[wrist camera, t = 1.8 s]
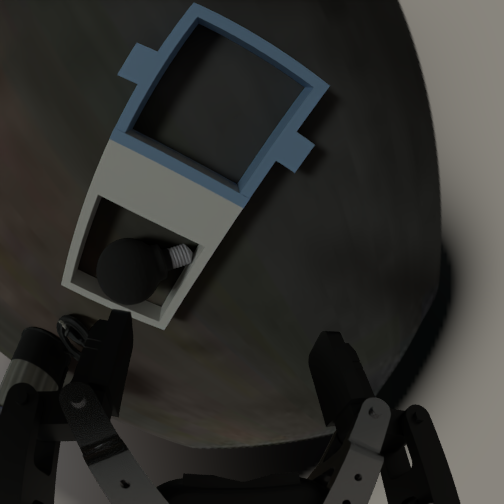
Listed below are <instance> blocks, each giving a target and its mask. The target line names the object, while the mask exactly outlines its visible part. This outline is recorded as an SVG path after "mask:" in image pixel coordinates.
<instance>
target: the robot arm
mask: <svg viewBox="0 0 504 504" xmlns="http://www.w3.org/2000/svg"><path fill="white" fill-rule="evenodd" d="M132 348H133V329H132V316H131V312H130V311H124V310H118V309H112V311H111V314H110V316H109V319H108V321H106V320H101V319H99V320H98V321H97V322H96V323H95V324H94V325H93V326H92V327H91V329H90V332H89V335H88V337H87V340H86V342H85V345H84V348H83V350H82V353H81V356H80V359H79V362H78V364H77V367H76V370H75V373H74V376H73V379H72V381H71V382H70V383H69V384H67V385H65V386H64V387H63V388H62V389H61V390H57V391H36V390H35V388H34V387H33V386H32V385H30V384H28V383H22V382H21V383H17V384H14V385H13V386H12V387H11V388H10V389H9V390H8V392H7V395H6V398H5V401H4V404H3V408H2V411H1V414H0V504H54V494H55V481H56V471H57V463H58V455H59V448H60V441H77V443H78V445H79V447H80V449H81V451H82V453H83V457H84V460H85V462H86V464H87V465H88V467H89V469H90V471H91V472H92V474H93V476H94V478H95V479H96V481H97V482H98V484H99V486H100V487H101V489H102V490H103V492H104V494H105V495H106V497H107V498H108V500H109V501H110V502H111V504H368V502H369V499H370V497H371V495H372V492H373V489H374V487H375V484H376V482H377V479H378V476H379V473H380V472H381V476H382V480H383V484H384V488H385V492H386V497H387V501H388V504H460V500H459V497H458V494H457V490H456V487H455V484H454V481H453V478H452V474H451V472H450V469H449V466H448V463H447V460H446V457H445V454H444V451H443V449H442V446H441V443H440V441H439V438H438V435H437V433H436V430H435V428H434V425H433V423H432V420H431V418H430V415H429V413H428V412H427V410H426V409H425V408H423V407H422V406H420V405H411V406H410V407H409V408H407V409H406V410H405V411H401V410H396V409H390V408H389V407H388V405H387V404H386V403H385V402H384V401H382V400H381V399H379V398H375V396H374V393H373V391H372V389H371V386H370V384H369V381H368V379H367V377H366V374H365V372H364V370H363V367H362V365H361V363H360V360H359V358H358V356H357V353H356V351H355V350H354V349H353V348H352V347H351V346H350V345H349V343H345V342H344V340H343V338H342V335H341V333H340V332H332V331H323V332H321V333H320V335H319V337H318V339H317V341H316V343H315V345H314V347H313V348H312V350H311V352H310V355H309V368H310V371H311V375H312V378H313V382H314V385H315V389H316V392H317V396H318V399H319V403H320V407H321V410H322V414H323V417H324V421H325V425H326V427H329V426H336V431H335V432H334V434H333V436H332V438H331V441H330V443H329V444H328V446H327V448H326V451H325V452H324V455H323V457H322V458H321V460H320V462H319V464H318V465H317V467H316V468H315V469H314V470H313V472H312V473H311V474H310V476H309V477H308V478H307V479H305V478H301V477H299V472H292V473H281V474H271V475H268V476H264V477H261V478H257V479H254V480H250V481H247V482H240V481H235V480H230V479H226V478H222V477H218V476H214V475H197V474H183V478H182V479H175V480H172V481H168V482H166V483H163V484H161V485H159V486H158V487H155V486H154V484H153V483H152V482H151V480H150V479H149V478H148V477H147V475H146V474H145V473H144V471H143V470H142V468H141V467H140V465H139V464H138V463H137V461H136V460H135V458H134V457H133V455H132V454H131V452H130V451H129V449H128V448H127V446H126V445H125V443H124V442H123V441H122V439H121V438H120V437H119V435H118V434H117V432H116V431H115V429H114V427H113V425H112V424H111V422H110V419H111V416H115V417H119V412H120V406H121V401H122V395H123V390H124V385H125V380H126V376H127V371H128V367H129V362H130V358H131V353H132ZM406 444H407V447H408V450H409V453H410V456H411V459H412V468H411V466H410V463H409V460H408V457H407V454H406V450H405V447H404V446H405V445H406Z"/></svg>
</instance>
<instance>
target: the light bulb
mask: <svg viewBox="0 0 504 504" xmlns="http://www.w3.org/2000/svg"><path fill="white" fill-rule="evenodd" d="M192 256H193V252H192V251H191V250H190V249H189V248H188V247H187V246H186V245H185V244H182V245H179V246H176V247H175V246H174V247H173V248H172V247H170V249H169V248H166V249H163V250H161V249H160V247H159V246H158V245H157V244H156V245H152V246H149V245H147V244H145V243H144V242H142V241H140V240H137V239H132V238H124V239H119V240H116V241H114V242H112V243H111V244H109V245H108V246H107V247H106V248H105V249H104V250H103V252H102V253H101V255H100V257H99V260H98V263H97V268H96V272H97V280H98V283H99V285H100V287H101V289H102V291H103V292H104V293H105V294H106V295H107V296H108V297H109V298H110V299H111V300H113V301H115V302H117V303H120V304H123V305H134V304H138V303H141V302H143V301H145V300H146V299H148V298H149V297H150V296H151V295H152V294H153V293H154V291H155V290H156V288H157V286H158V283H159V282H160V281H161V280H164V279H166V278H167V277H168V273H167V272H168V271H170V270H172V269H173V268H175V269H176V267H178V268H179V266H180V267H182V265H183V266H185V265H188V264H191V261H192Z"/></svg>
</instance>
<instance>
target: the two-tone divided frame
mask: <svg viewBox="0 0 504 504" xmlns="http://www.w3.org/2000/svg"><path fill="white" fill-rule="evenodd" d="M198 24H201V25H203V26H205V27H207V28H209V29H211V30H213V31H215V32H216V33H218V34H220V35H222V36H224V37H226V38H228V39H230V40H231V41H233V42H235V43H237V44H238V45H240V46H242V47H244V48H245V49H247V50H249V51H250V52H252V53H254V54H255V55H257V56H259V57H260V58H262V59H264V60H265V61H267V62H268V63H270V64H271V65H273V66H274V67H276V68H277V69H279V70H280V71H282V72H283V73H285V74H286V75H288V76H289V77H291V78H292V79H294V80H295V81H296V82H298V83H299V84H301V85H302V86H303V87H305V88H304V89H303V90H302V92H301V93H300V95H299V96H298V97H297V99H296V100H295V101H294V103H293V104H292V106H291V107H290V108H289V110H288V111H287V112H286V114H285V115H284V117H283V118H282V119H281V121H280V122H279V124H278V125H277V127H276V128H275V129H274V131H273V132H272V134H271V135H270V137H269V138H268V139H267V141H266V142H265V144H264V145H263V147H262V148H261V150H260V151H259V152H258V154H257V155H256V157H255V158H254V160H253V161H252V163H251V164H250V166H249V167H248V169H247V170H246V172H245V173H244V175H243V176H242V178H241V179H240V181H239V182H238V184H236V183H234V182H233V181H231V180H229V179H227V178H225V177H224V176H222V175H220V174H218V173H216V172H215V171H213V170H211V169H209V168H207V167H205V166H204V165H202V164H200V163H198V162H196V161H194V160H192V159H191V158H189V157H187V156H185V155H183V154H181V153H179V152H177V151H175V150H173V149H172V148H170V147H168V146H166V145H164V144H162V143H160V142H158V141H156V140H154V139H152V138H150V137H148V136H146V135H144V134H142V133H140V132H138V131H136V130H134V129H133V127H134V125H135V123H136V121H137V119H138V117H139V116H140V114H141V112H142V110H143V108H144V106H145V105H146V103H147V101H148V99H149V98H150V96H151V94H152V92H153V91H154V89H155V87H156V86H157V84H158V82H159V81H160V79H161V77H162V76H163V74H164V73H165V71H166V70H167V68H168V66H169V65H170V63H171V62H172V60H173V59H174V57H175V56H176V54H177V53H178V51H179V50H180V48H181V47H182V46H183V44H184V43H185V41H186V40H187V39H188V37H189V36H190V34H191V33H192V32H193V30H194V29H195V28H196V26H197V25H198ZM118 75H119V76H121V77H123V78H125V79H128V80H130V81H132V82H134V83H136V84H138V85H137V87H136V88H135V90H134V92H133V94H132V96H131V97H130V99H129V101H128V103H127V105H126V107H125V109H124V111H123V113H122V115H121V116H120V118H119V120H118V123H117V125H116V127H115V128H114V130H113V132H112V134H111V137H110V139H109V142H108V144H107V146H106V148H105V150H104V153H103V155H102V157H101V160H100V162H99V165H98V167H97V170H96V172H95V175H94V177H93V180H92V182H91V185H90V188H89V190H88V193H87V196H86V199H85V202H84V204H83V207H82V210H81V213H80V216H79V220H78V223H77V226H76V229H75V233H74V236H73V239H72V243H71V247H70V250H69V254H68V258H67V262H66V266H65V270H64V274H63V279H62V283H61V285H63V286H65V287H67V288H69V289H71V290H73V291H75V292H77V293H79V294H81V295H83V296H85V297H87V298H89V299H91V300H94V301H96V302H98V303H100V304H102V305H105V306H107V307H109V308H111V309H118V310H124V311H130V312H131V316H132V318H135V319H137V320H140V321H142V322H145V323H147V324H150V325H152V326H155V327H157V328H160V329H163V330H165V328H166V326H167V325H168V323H169V322H170V320H171V318H172V317H173V315H174V314H175V312H176V310H177V309H178V307H179V306H180V304H181V302H182V301H183V299H184V298H185V296H186V295H187V293H188V291H189V290H190V288H191V287H192V285H193V284H194V282H195V280H196V279H197V277H198V276H199V274H200V273H201V271H202V270H203V268H204V267H205V265H206V263H207V262H208V260H209V259H210V257H211V256H212V254H213V253H214V251H215V250H216V248H217V247H218V245H219V244H220V242H221V241H222V239H223V238H224V236H225V235H226V233H227V232H228V230H229V229H230V227H231V226H232V224H233V223H234V221H235V220H236V218H237V217H238V215H239V214H240V212H241V211H242V209H243V208H244V207H245V205H246V204H247V203H248V201H249V200H250V197H251V196H252V195H253V193H254V192H255V190H256V189H257V187H258V186H259V184H260V183H261V181H262V180H263V179H264V177H265V176H266V174H267V173H268V171H269V170H270V168H271V167H272V166H273V164H274V163H275V161H277V162H279V163H281V164H282V165H284V166H285V167H287V168H288V169H290V170H291V171H293V172H294V173H295V172H296V170H297V169H298V168H299V166H300V165H301V164H302V162H303V161H304V159H305V158H306V157H307V155H308V154H309V152H310V151H311V150H312V148H313V147H314V146H315V145H314V144H313V143H312V142H310V141H309V140H307V139H306V138H305V137H303V136H302V135H300V134H299V133H298V132H297V130H298V129H299V128H300V126H301V125H302V123H303V122H304V121H305V119H306V118H307V116H308V115H309V114H310V112H311V111H312V110H313V108H314V107H315V105H316V104H317V103H318V101H319V100H320V99H321V97H322V96H323V95H324V93H325V92H326V91H327V89H328V88H329V87H330V86H329V85H328V84H327V83H326V82H324V81H323V80H322V79H320V78H319V77H318V76H316V75H315V74H314V73H312V72H311V71H310V70H308V69H307V68H306V67H304V66H303V65H302V64H300V63H299V62H297V61H296V60H294V59H293V58H292V57H290V56H289V55H287V54H286V53H284V52H283V51H281V50H280V49H278V48H277V47H275V46H273V45H272V44H270V43H269V42H267V41H265V40H264V39H262V38H261V37H259V36H257V35H256V34H254V33H252V32H250V31H249V30H247V29H245V28H244V27H242V26H240V25H238V24H236V23H234V22H233V21H231V20H229V19H227V18H225V17H223V16H221V15H219V14H217V13H215V12H213V11H211V10H209V9H207V8H205V7H203V6H201V5H198V4H196V3H193V4H192V5H191V7H190V8H189V9H188V10H187V12H186V13H185V14H184V16H183V17H182V18H181V20H180V21H179V22H178V24H177V25H176V26H175V28H174V29H173V30H172V32H171V33H170V35H169V36H168V38H167V39H166V40H165V42H164V43H163V45H162V46H161V48H160V49H159V51H158V52H157V51H155V50H153V49H150V48H148V47H146V46H143V45H141V44H139V43H136V45H135V46H134V48H133V50H132V51H131V53H130V54H129V56H128V58H127V59H126V61H125V63H124V64H123V66H122V68H121V70H120V71H119V73H118ZM102 197H104V198H106V199H108V200H110V201H112V202H114V203H116V204H118V205H120V206H122V207H124V208H126V209H128V210H130V211H132V212H134V213H136V214H138V215H140V216H142V217H144V218H146V219H148V220H150V221H152V222H155V223H157V224H159V225H161V226H163V227H165V228H167V229H169V230H171V231H173V232H175V233H177V234H179V235H181V236H183V237H185V238H188V239H190V240H192V241H194V242H196V243H198V244H199V245H198V246H197V248H196V250H195V251H194V253H193V256H192V261H191V264H188V265H186V266H185V268H184V270H183V271H182V273H181V275H180V276H179V278H178V280H177V281H176V283H175V285H174V286H173V288H172V290H171V291H170V293H169V295H168V297H167V298H166V300H165V302H164V304H163V305H162V307H160V306H158V305H156V304H153V303H151V302H148V301H146V300H145V301H143V302H141V303H138V304H134V305H123V304H120V303H117V302H115V301H113V300H111V299H110V298H109V297H108V296H107V295H106V294H105V293H104V292H103V291H102V289H101V287H100V285H99V283H98V280H97V278H95V277H93V276H91V275H89V274H87V273H84V272H82V271H80V270H78V266H79V263H80V259H81V256H82V253H83V249H84V246H85V243H86V240H87V237H88V234H89V231H90V228H91V225H92V222H93V219H94V216H95V214H96V211H97V208H98V206H99V203H100V200H101V198H102Z"/></svg>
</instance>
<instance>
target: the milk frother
mask: <svg viewBox="0 0 504 504" xmlns="http://www.w3.org/2000/svg"><path fill="white" fill-rule="evenodd" d="M64 328H65V330H64ZM57 332H58V334H59V336H60V338H61V340H62V342H63V343H64V344H63V343H62V342H61V341H60V340H59V339H57V338H56V337H55V336H53V335H52V334H50V333H48V332H47V331H44V330H42V329H39V328H34V327H29V328H26V329H24V331H23V332H22V337H21V340H20V342H19V344H18V346H17V349H16V351H15V353H14V356H13V358H12V360H11V363H10V364H9V367H8V369H7V371H6V374H5V376H4V378H3V381H2V383H1V386H0V414H1V411H2V408H3V404H4V401H5V398H6V395H7V392H8V390H9V389H10V388H11V387H12V386H13V385H14V384H17V383H21V382H22V383H28V384H30V385H32V386H33V387H34V388H35V390H36V391H57V390H61V389H62V387H63V383H64V380H65V377H66V374H67V371H68V367H67V366H68V365H69V364H70V361H71V356H72V357H74V358H75V359H76V360H78V361H79V359H80V356H81V352H79V351H78V350H77V349H76V348H75V347H74V346H73V345H72V344H71V342H70V341H69V339H68V338H67V336H69V337H70V338H71V339H72V340H73V341H75V342H77V343H78V344H81V345H82V346H83V347H84V345H85V342H86V340H87V337H88V335H89V331H88V329H87V328H86V327H85V326H84V325H83V324H82V323H81V322H80V321H79V320H78V319H76V318H74V317H72V316H69V315H64V316H62V317H61V318H60V319H59V320H58V323H57ZM66 347H67V348H66ZM68 350H69V351H70V352H71V353H70V352H69V351H68ZM70 355H71V356H70Z"/></svg>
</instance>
